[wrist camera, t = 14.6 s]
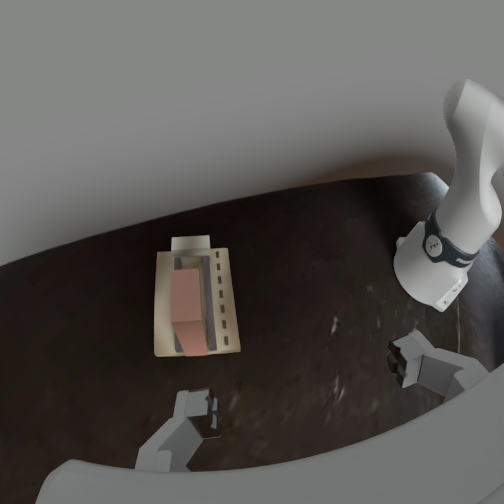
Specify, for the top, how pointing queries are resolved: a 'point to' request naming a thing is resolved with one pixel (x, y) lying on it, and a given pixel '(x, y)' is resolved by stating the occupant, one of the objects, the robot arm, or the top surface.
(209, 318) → the slotted tan base plate
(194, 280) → the tall salmon pink pillar
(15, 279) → the top surface
